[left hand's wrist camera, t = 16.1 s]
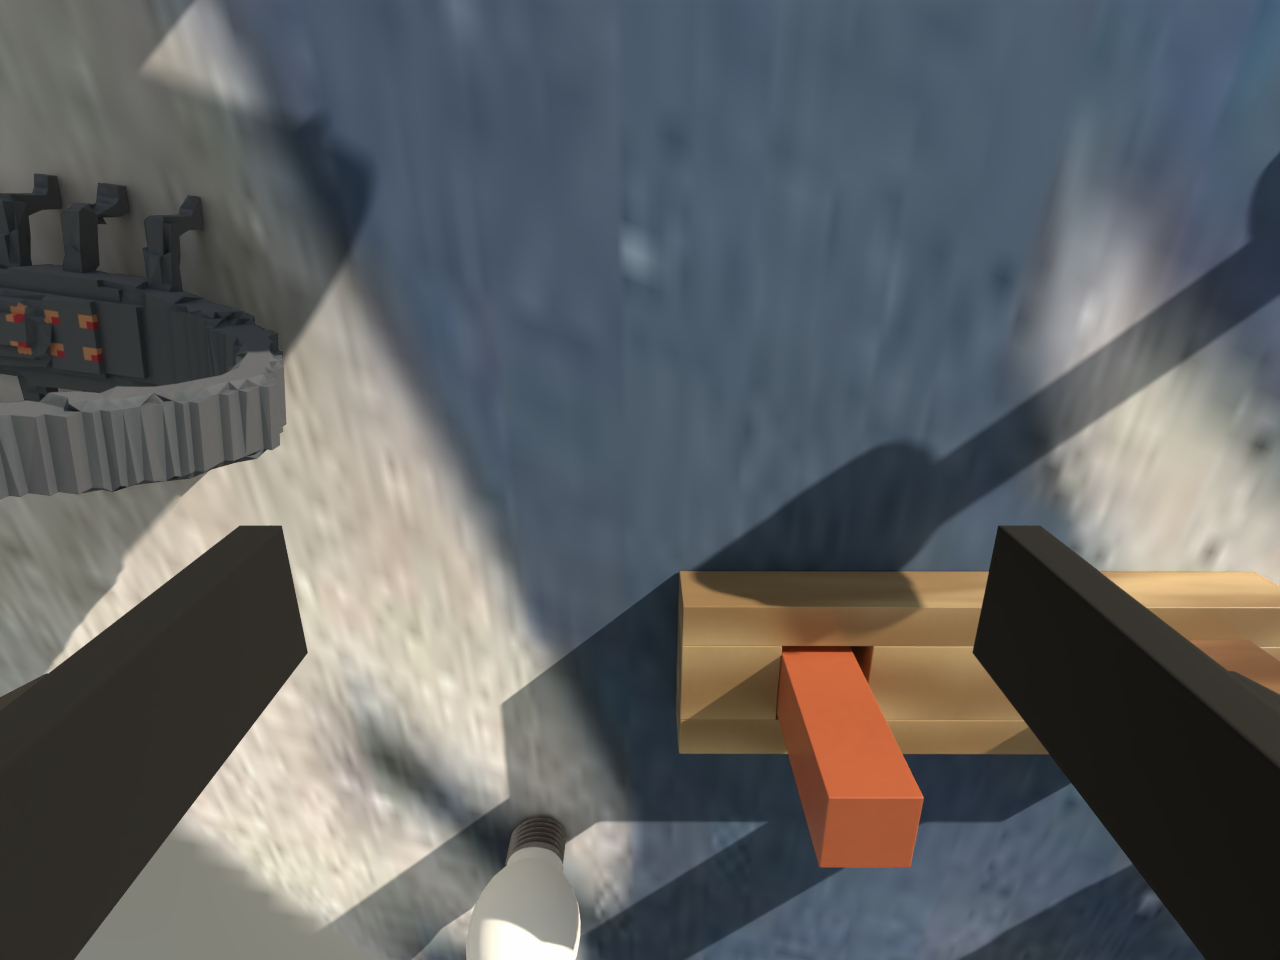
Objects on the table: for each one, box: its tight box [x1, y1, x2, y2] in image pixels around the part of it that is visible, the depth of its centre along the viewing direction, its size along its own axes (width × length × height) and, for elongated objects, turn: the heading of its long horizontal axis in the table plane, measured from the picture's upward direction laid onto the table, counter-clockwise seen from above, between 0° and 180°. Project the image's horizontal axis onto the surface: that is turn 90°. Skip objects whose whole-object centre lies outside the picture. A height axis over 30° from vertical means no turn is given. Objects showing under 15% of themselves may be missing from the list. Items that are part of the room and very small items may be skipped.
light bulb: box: [466, 818, 580, 960], centre depth 43 cm, size 7×7×11 cm
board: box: [676, 571, 1280, 754], centre depth 37 cm, size 10×34×12 cm, turn 90°
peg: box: [776, 646, 924, 868], centre depth 36 cm, size 4×4×14 cm
